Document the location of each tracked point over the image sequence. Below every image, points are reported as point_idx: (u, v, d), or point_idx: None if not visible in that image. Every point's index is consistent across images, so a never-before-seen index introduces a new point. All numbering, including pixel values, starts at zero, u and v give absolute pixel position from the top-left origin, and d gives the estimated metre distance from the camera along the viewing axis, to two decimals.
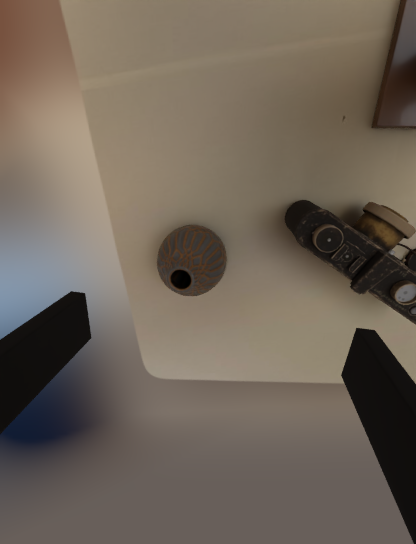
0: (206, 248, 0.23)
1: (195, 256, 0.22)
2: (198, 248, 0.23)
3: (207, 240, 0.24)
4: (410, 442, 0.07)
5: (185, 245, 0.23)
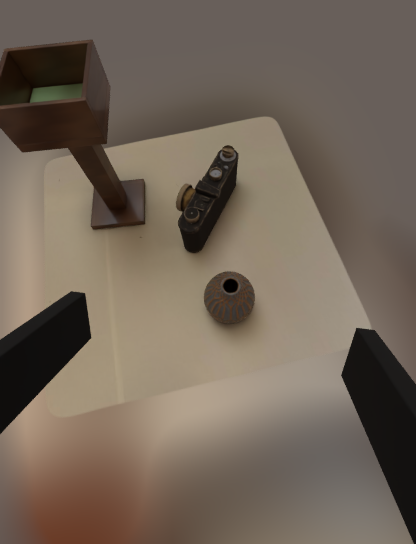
0: (212, 280, 0.34)
1: (216, 283, 0.33)
2: (212, 284, 0.33)
3: (208, 283, 0.35)
4: (410, 442, 0.07)
5: (211, 292, 0.33)
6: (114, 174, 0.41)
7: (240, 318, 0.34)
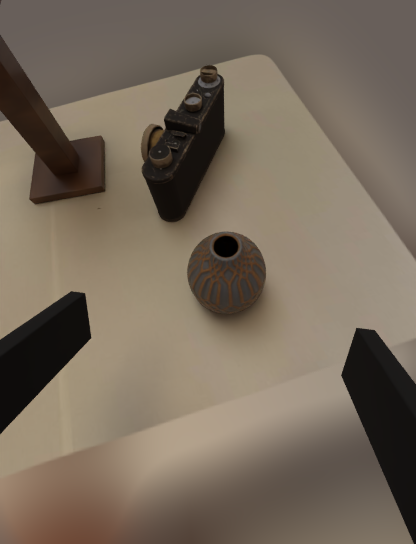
0: (196, 246, 0.22)
1: (202, 247, 0.20)
2: (196, 251, 0.21)
3: (192, 253, 0.22)
4: (410, 442, 0.07)
5: (196, 264, 0.21)
6: (51, 118, 0.29)
7: (246, 302, 0.21)
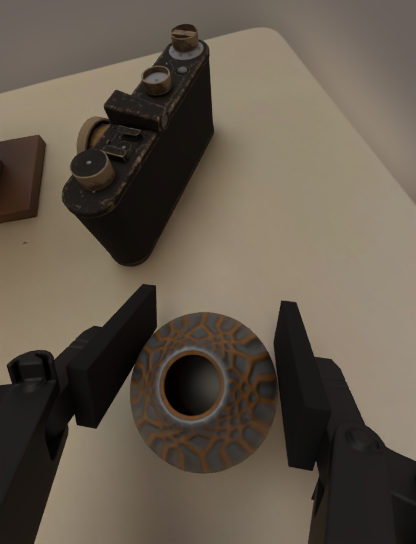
0: (145, 348, 0.11)
1: (149, 363, 0.10)
2: (142, 364, 0.11)
3: None
4: (291, 379, 0.09)
5: (138, 394, 0.10)
6: None
7: None
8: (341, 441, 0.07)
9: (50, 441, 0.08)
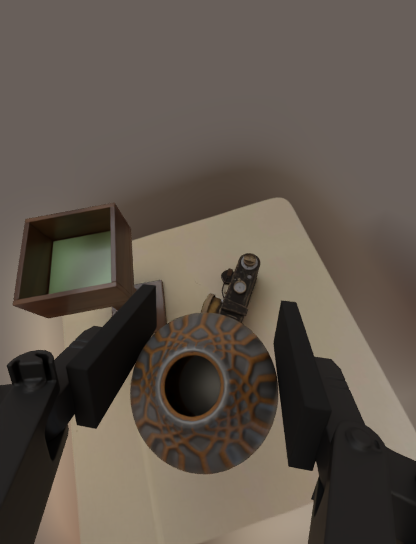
0: (145, 349, 0.11)
1: (149, 364, 0.10)
2: (142, 365, 0.11)
3: (140, 354, 0.12)
4: (291, 379, 0.09)
5: (138, 395, 0.10)
6: None
7: None
8: (341, 441, 0.07)
9: (50, 441, 0.08)
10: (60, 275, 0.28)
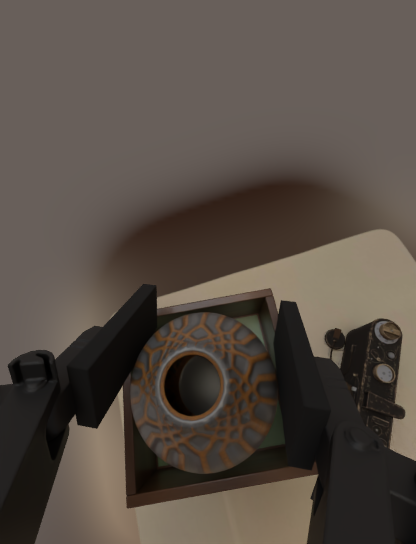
0: (145, 348, 0.11)
1: (149, 363, 0.10)
2: (142, 364, 0.11)
3: (139, 354, 0.12)
4: (290, 378, 0.09)
5: (138, 395, 0.10)
6: None
7: None
8: (340, 441, 0.07)
9: (51, 441, 0.08)
10: None
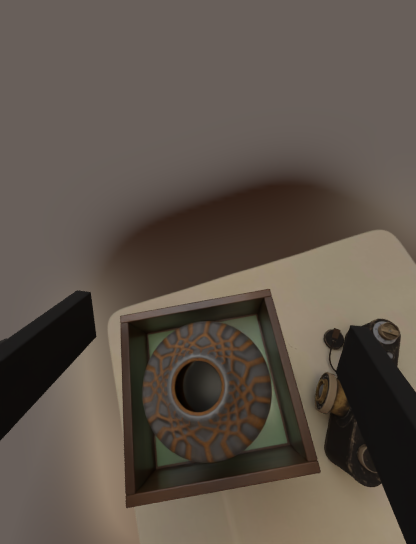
0: (155, 354, 0.13)
1: (160, 368, 0.11)
2: (153, 368, 0.12)
3: (150, 358, 0.14)
4: (399, 436, 0.08)
5: (150, 394, 0.12)
6: None
7: (239, 452, 0.12)
8: None
9: None
10: None
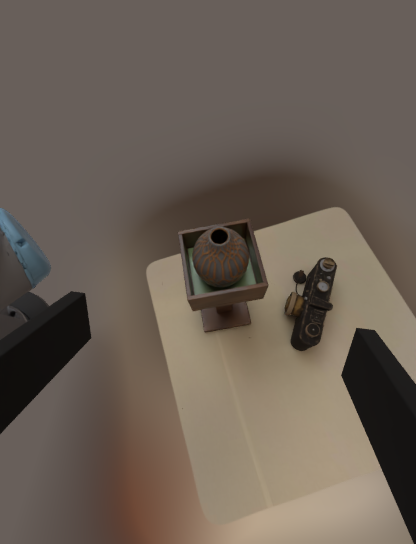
0: (199, 237, 0.30)
1: (203, 238, 0.29)
2: (199, 241, 0.30)
3: None
4: (410, 442, 0.07)
5: (199, 249, 0.29)
6: None
7: (234, 277, 0.30)
8: None
9: None
10: None
